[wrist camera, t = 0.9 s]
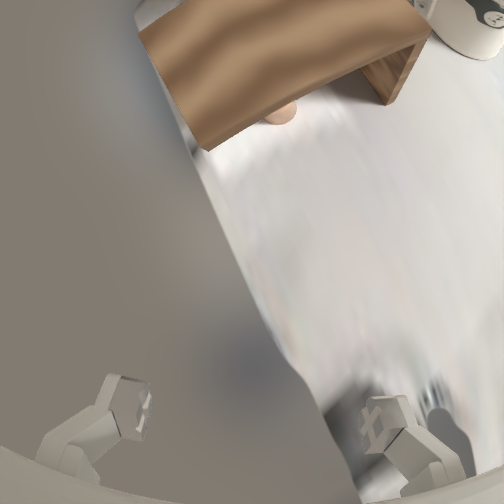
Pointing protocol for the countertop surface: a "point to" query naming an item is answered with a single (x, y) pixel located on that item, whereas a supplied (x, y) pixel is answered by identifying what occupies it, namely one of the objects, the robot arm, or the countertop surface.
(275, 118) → the jar
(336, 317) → the countertop surface
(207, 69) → the shelf
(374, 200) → the countertop surface
